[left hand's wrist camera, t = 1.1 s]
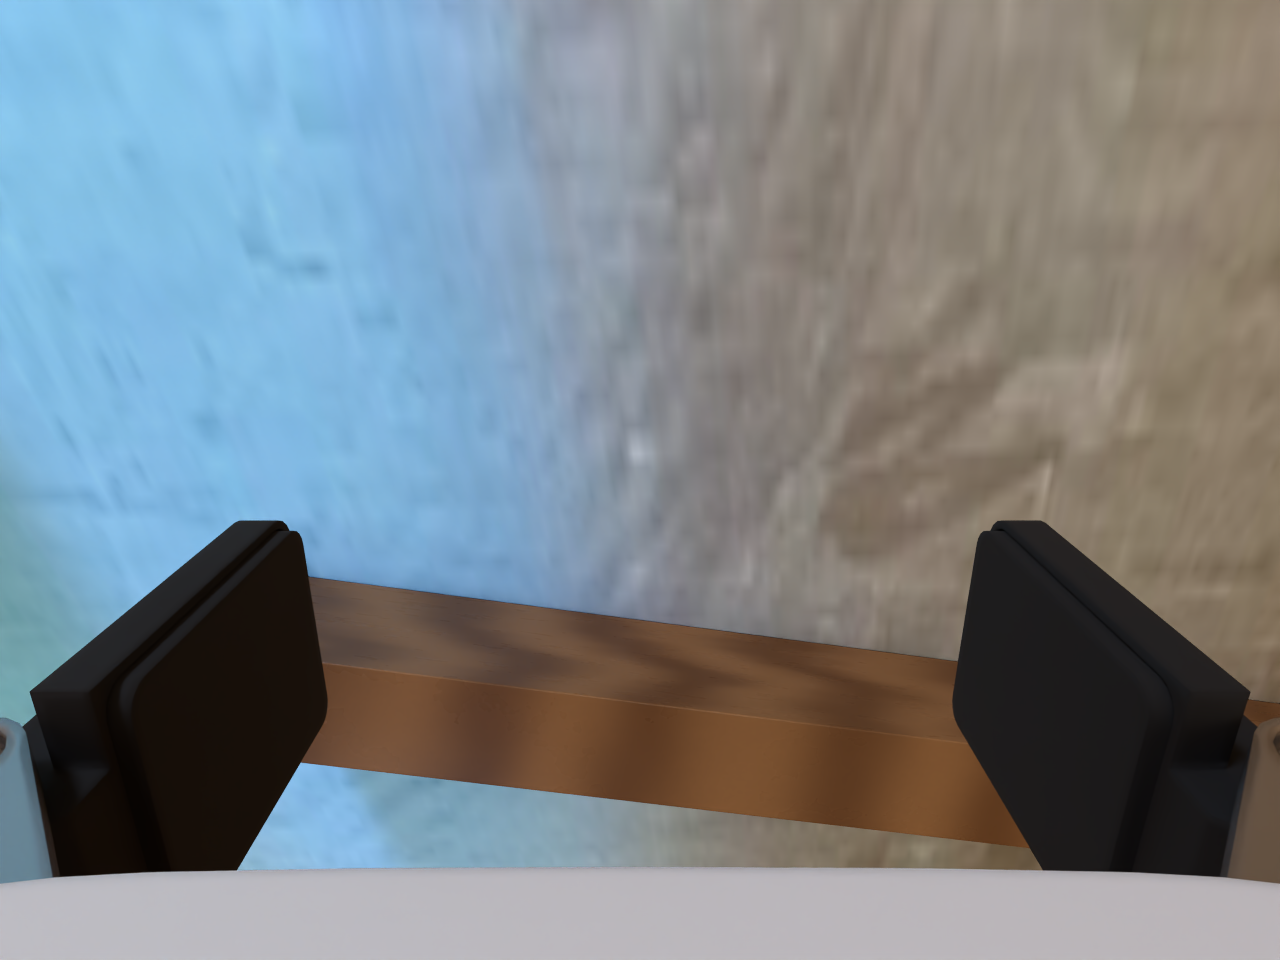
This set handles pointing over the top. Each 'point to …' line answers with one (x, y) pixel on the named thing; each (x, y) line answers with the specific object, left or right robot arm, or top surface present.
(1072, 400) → the top surface
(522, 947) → the left robot arm
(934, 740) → the bar
